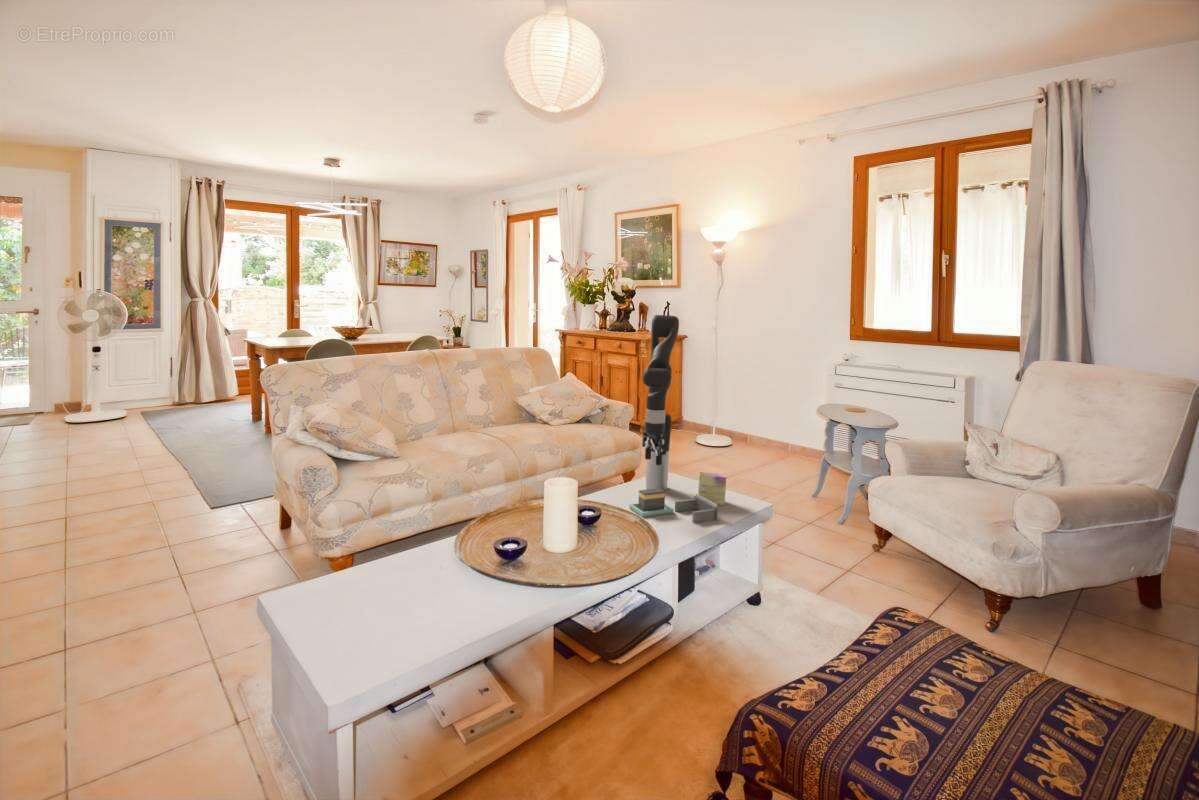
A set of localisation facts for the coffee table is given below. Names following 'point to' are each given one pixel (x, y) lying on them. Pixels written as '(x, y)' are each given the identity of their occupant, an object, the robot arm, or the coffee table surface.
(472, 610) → the coffee table surface
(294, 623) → the coffee table surface
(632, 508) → the tray
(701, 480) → the box
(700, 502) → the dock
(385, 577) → the coffee table surface
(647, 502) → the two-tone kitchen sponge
